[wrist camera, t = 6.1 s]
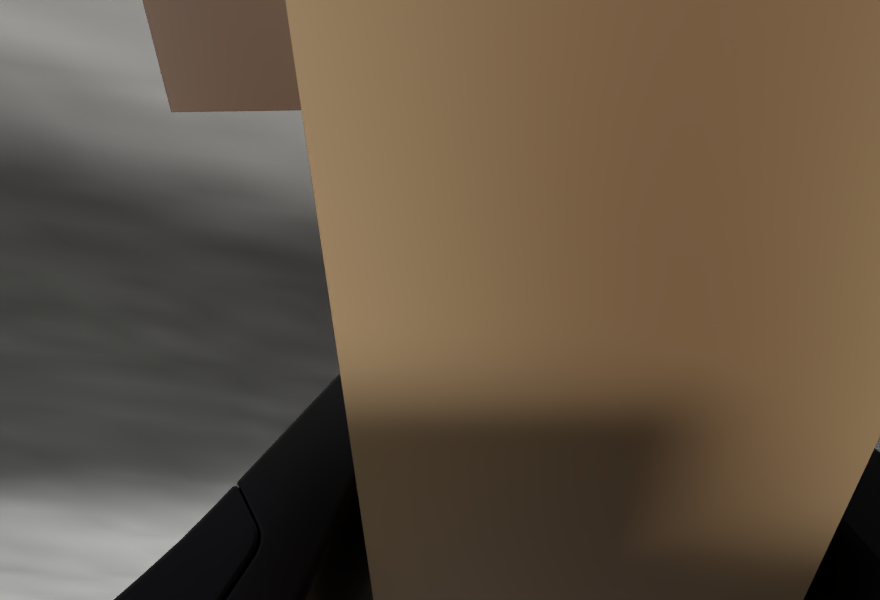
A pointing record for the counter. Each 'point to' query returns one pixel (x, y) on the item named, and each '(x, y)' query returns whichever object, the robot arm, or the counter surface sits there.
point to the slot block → (224, 54)
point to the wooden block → (599, 287)
